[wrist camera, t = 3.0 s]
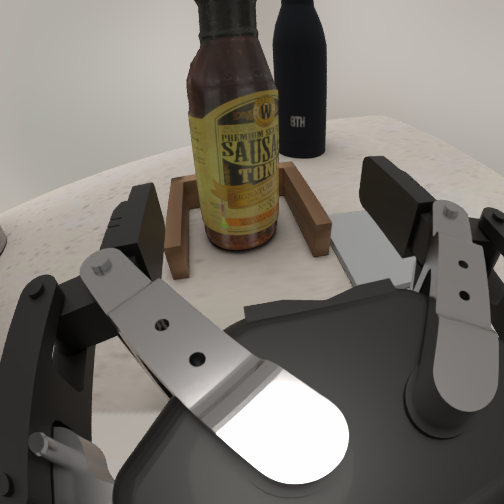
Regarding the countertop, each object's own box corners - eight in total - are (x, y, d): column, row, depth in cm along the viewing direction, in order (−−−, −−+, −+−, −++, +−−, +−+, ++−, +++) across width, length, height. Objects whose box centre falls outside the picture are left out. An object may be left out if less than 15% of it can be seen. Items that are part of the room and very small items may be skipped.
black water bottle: (310, 138, 42) (303, -56, 22) (334, 154, 37) (330, -66, 18) (269, 144, 41) (256, -61, 21) (289, 161, 36) (277, -75, 16)
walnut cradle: (173, 279, 22) (163, 248, 20) (177, 204, 30) (171, 178, 28) (328, 254, 23) (332, 222, 21) (292, 187, 31) (292, 161, 29)
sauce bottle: (239, 266, 23) (206, -32, 10) (191, 232, 26) (150, -6, 13) (296, 226, 26) (292, -22, 13) (246, 201, 29) (227, -10, 16)
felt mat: (359, 299, 19) (361, 293, 19) (318, 222, 26) (318, 216, 26) (462, 272, 20) (465, 266, 20) (410, 209, 27) (411, 204, 27)
